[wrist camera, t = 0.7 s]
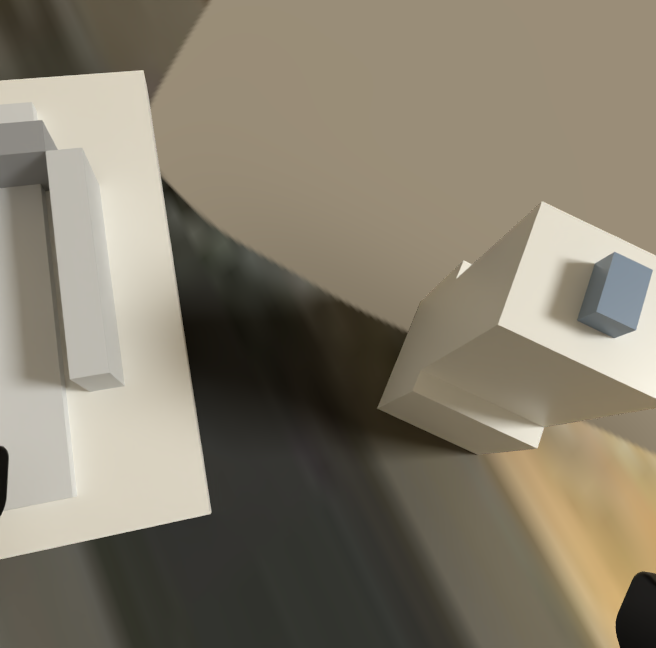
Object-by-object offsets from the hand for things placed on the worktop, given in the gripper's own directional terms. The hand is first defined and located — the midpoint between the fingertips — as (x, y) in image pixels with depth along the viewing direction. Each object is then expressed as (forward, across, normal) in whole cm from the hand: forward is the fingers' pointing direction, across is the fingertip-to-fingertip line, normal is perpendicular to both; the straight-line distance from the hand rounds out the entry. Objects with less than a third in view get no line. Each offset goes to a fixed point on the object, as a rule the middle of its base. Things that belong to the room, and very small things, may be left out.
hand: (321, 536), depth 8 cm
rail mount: (+15, +12, +3) cm, 19 cm away
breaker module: (+16, -5, +3) cm, 17 cm away
